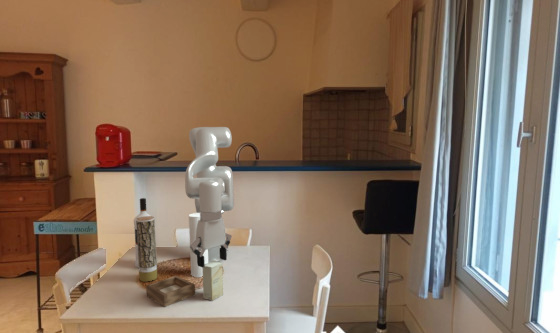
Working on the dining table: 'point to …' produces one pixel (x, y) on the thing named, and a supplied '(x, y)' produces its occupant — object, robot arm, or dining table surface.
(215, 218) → the robot arm
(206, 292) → the skincare box
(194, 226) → the cylindrical container
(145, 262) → the paper tube
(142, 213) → the vodka
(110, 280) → the dining table surface
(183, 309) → the dining table surface
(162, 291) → the brown wooden square tray
